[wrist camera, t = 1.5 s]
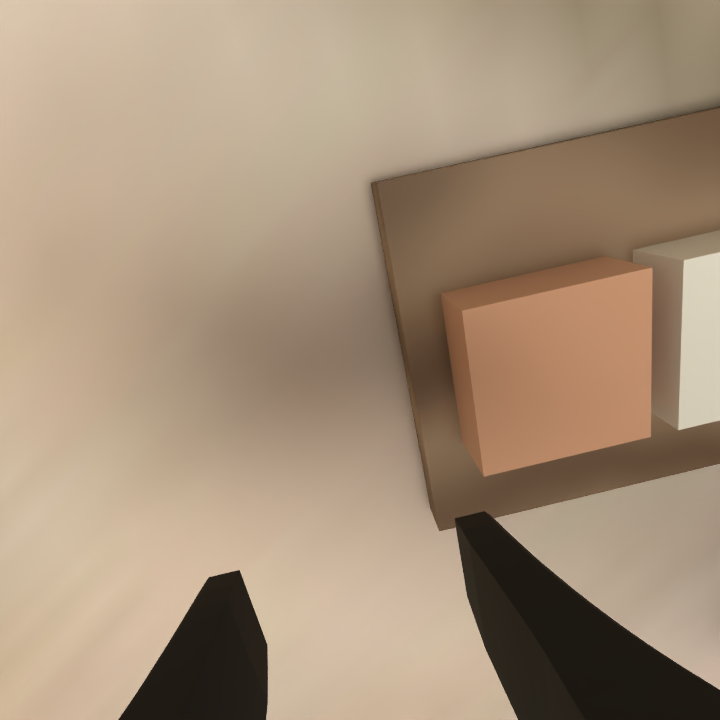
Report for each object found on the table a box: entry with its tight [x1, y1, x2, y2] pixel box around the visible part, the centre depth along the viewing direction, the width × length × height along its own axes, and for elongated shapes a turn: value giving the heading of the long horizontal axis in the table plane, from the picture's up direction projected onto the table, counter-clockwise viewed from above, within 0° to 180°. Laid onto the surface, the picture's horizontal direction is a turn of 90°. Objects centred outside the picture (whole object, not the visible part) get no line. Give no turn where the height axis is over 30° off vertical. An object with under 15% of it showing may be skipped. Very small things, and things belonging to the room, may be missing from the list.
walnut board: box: [371, 107, 720, 531], centre depth 19 cm, size 14×16×2 cm
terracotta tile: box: [440, 256, 652, 477], centre depth 17 cm, size 6×6×2 cm
